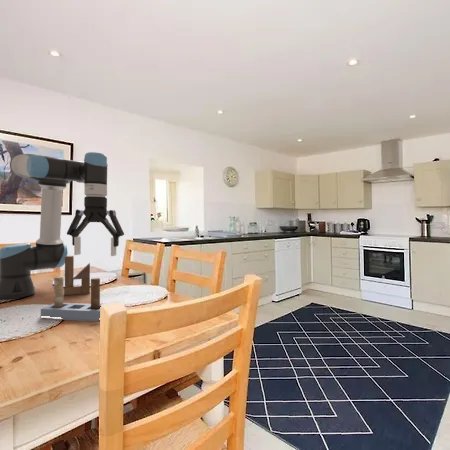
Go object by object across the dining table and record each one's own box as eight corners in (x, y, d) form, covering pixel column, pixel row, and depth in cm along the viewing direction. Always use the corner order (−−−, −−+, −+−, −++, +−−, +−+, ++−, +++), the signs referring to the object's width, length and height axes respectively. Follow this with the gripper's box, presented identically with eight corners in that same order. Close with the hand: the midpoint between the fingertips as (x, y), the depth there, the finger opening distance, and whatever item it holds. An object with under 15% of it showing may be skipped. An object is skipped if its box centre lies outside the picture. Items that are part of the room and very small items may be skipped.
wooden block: (89, 293, 139) (90, 255, 138) (64, 295, 134) (64, 256, 134) (89, 291, 142) (90, 254, 142) (64, 293, 137) (64, 255, 137)
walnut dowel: (89, 318, 105) (89, 279, 104) (93, 315, 108) (93, 277, 107) (97, 318, 104) (97, 279, 104) (101, 315, 107) (101, 278, 107)
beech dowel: (51, 316, 106) (52, 278, 106) (57, 313, 109) (57, 276, 109) (59, 317, 106) (60, 278, 105) (64, 314, 109) (65, 276, 108)
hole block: (40, 318, 104) (40, 308, 103) (55, 311, 112) (55, 302, 111) (100, 321, 102) (100, 311, 102) (110, 313, 110) (110, 304, 110)
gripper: (56, 195, 102) (55, 255, 103) (125, 196, 101) (124, 257, 101) (69, 196, 110) (68, 252, 110) (133, 197, 108) (132, 254, 109)
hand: (95, 255), depth 106 cm, fingers open, 13 cm apart
